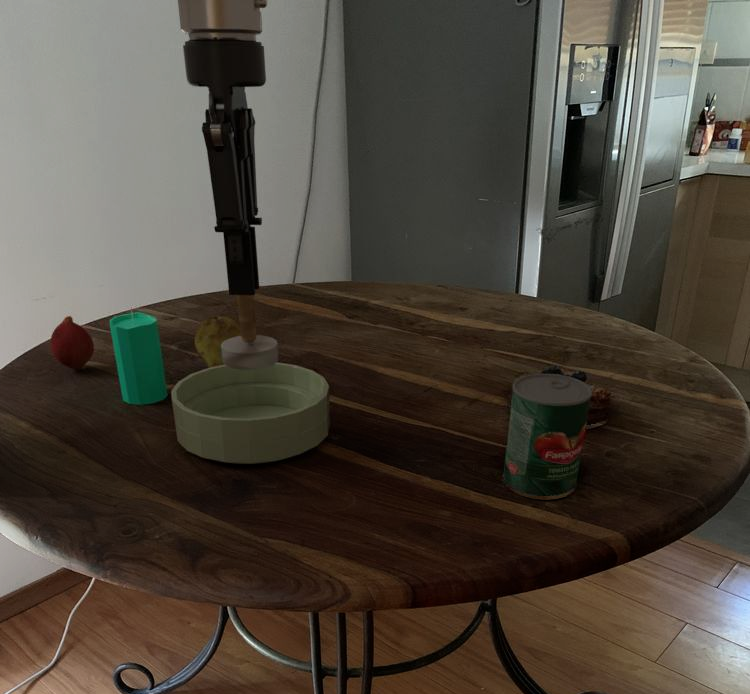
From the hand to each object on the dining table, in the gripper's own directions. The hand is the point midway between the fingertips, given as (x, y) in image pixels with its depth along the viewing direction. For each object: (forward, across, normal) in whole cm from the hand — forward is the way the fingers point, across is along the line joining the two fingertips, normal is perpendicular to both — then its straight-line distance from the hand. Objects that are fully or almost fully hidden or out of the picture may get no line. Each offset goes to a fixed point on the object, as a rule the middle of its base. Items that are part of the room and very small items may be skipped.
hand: (244, 290), depth 81 cm
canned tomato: (+18, -10, -33) cm, 39 cm away
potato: (+18, +19, +7) cm, 27 cm away
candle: (+17, +11, +17) cm, 27 cm away
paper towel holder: (+8, 0, 0) cm, 8 cm away
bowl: (+17, 0, 0) cm, 17 cm away
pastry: (+18, +9, -38) cm, 43 cm away
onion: (+17, +20, +30) cm, 40 cm away
